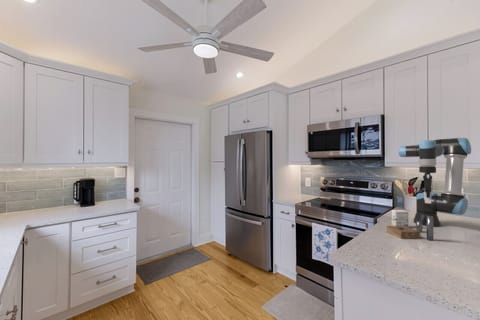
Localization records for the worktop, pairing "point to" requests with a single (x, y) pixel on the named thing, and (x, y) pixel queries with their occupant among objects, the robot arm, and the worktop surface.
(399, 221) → the ink box
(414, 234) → the hole block
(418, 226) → the short pin
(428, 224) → the long pin
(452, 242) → the worktop surface
